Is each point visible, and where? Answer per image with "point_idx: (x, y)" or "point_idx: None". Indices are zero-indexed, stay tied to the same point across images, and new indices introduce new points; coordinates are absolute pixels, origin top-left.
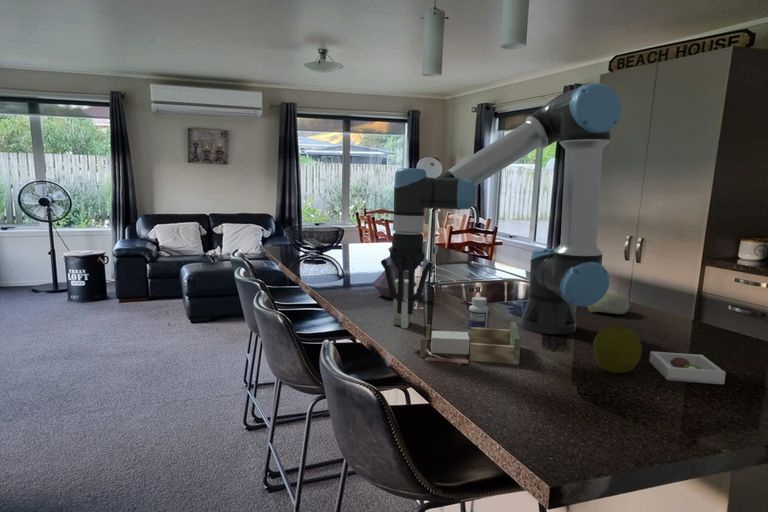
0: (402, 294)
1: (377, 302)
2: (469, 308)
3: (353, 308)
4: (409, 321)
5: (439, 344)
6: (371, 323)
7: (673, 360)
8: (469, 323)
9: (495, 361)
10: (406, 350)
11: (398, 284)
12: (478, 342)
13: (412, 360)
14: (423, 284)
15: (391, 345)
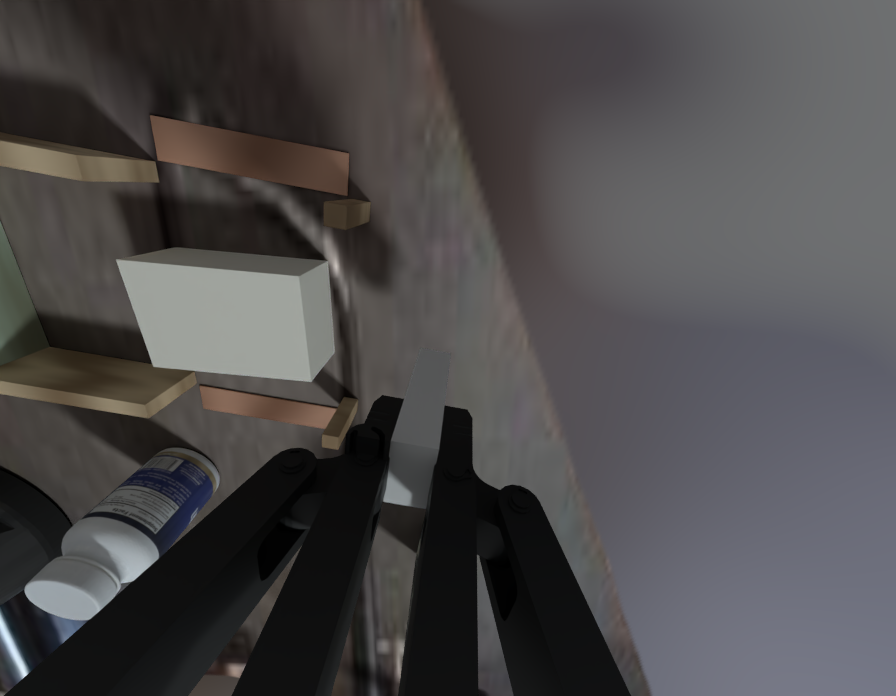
0: (429, 509)
1: (507, 681)
2: (148, 551)
3: None
4: (417, 550)
5: (276, 265)
6: None
7: None
8: (192, 493)
9: (36, 139)
10: (430, 284)
11: (470, 625)
12: (160, 368)
13: (404, 150)
14: (125, 595)
15: (489, 340)
